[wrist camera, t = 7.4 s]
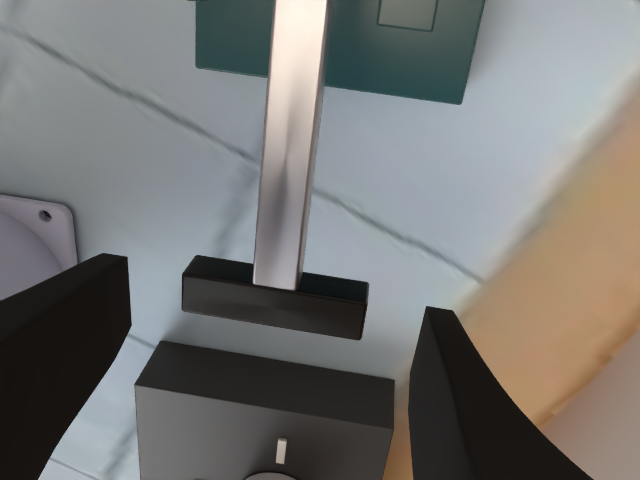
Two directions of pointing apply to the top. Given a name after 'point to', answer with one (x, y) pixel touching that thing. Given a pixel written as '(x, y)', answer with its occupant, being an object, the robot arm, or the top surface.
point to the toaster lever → (284, 199)
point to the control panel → (258, 418)
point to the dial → (270, 476)
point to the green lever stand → (356, 44)
